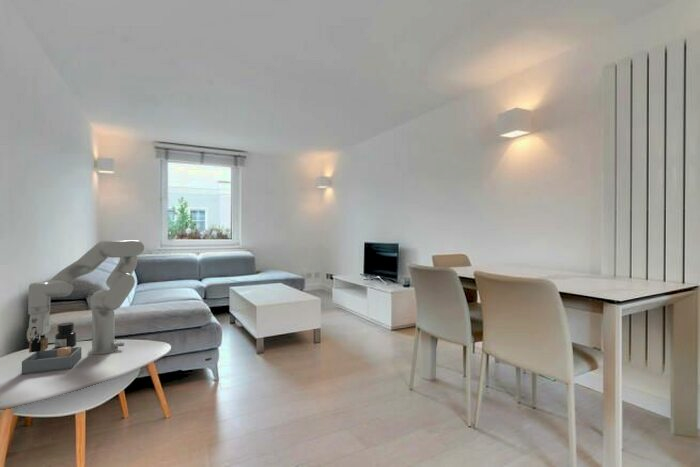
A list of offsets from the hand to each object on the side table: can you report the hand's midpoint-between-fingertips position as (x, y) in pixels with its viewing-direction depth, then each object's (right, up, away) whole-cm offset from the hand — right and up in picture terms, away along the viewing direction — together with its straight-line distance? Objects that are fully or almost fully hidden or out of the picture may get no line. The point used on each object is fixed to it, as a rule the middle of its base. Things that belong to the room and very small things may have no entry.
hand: (38, 349), depth 160 cm
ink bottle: (-12, -9, +30) cm, 33 cm away
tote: (+5, -8, +2) cm, 10 cm away
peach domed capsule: (+8, -8, +4) cm, 12 cm away
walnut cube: (0, -1, 0) cm, 1 cm away
